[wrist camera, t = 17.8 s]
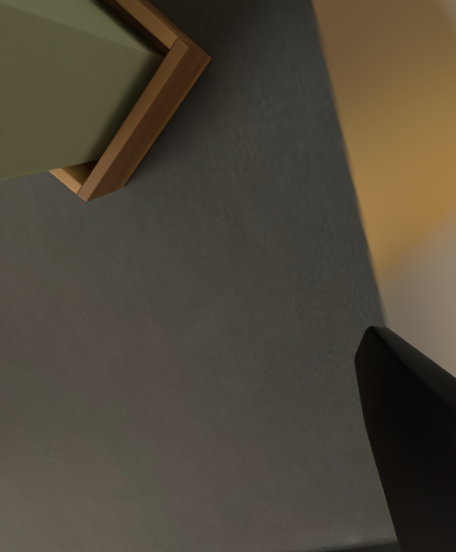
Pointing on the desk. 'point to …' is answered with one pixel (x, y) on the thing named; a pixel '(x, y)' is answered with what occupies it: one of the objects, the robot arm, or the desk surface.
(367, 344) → the robot arm
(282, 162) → the desk surface
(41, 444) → the desk surface
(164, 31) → the small open wooden box
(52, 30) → the sage green pillar
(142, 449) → the desk surface
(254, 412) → the desk surface
